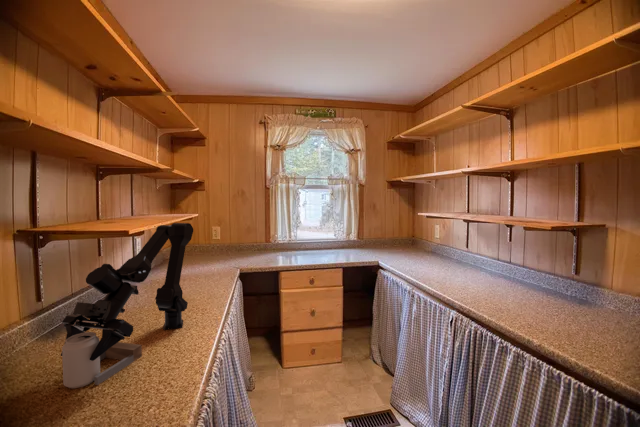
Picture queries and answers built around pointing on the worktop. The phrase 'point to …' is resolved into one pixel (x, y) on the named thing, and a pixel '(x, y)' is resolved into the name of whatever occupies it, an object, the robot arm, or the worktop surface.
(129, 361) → the guide rails
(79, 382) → the can
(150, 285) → the worktop surface
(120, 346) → the stop block
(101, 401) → the worktop surface
